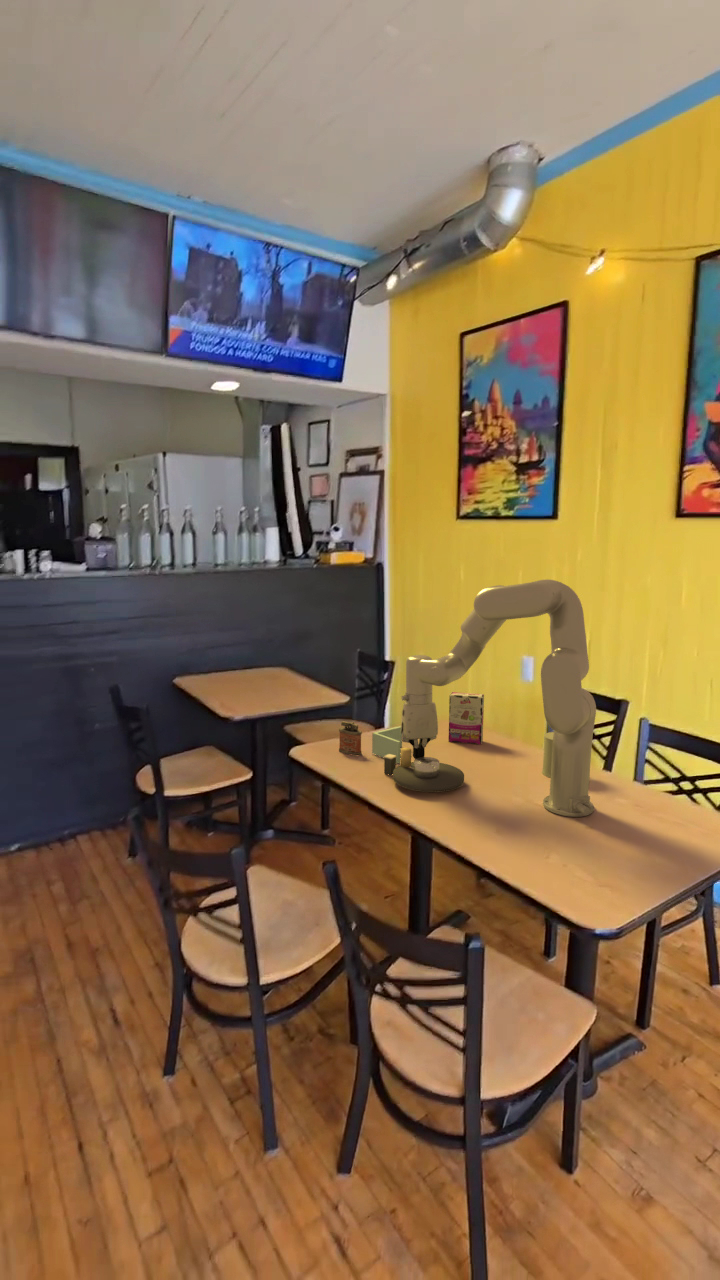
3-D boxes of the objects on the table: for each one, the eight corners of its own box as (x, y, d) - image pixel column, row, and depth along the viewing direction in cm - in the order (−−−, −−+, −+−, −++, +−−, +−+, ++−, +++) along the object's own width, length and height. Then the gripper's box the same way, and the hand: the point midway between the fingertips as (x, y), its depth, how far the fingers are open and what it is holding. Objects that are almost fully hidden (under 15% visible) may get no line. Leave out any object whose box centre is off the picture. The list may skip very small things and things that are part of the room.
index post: (396, 773, 201) (396, 755, 200) (391, 775, 199) (391, 758, 198) (388, 771, 202) (389, 753, 201) (383, 773, 200) (384, 756, 199)
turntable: (478, 779, 192) (479, 757, 191) (433, 798, 179) (433, 774, 178) (423, 761, 206) (424, 740, 205) (378, 777, 193) (378, 755, 192)
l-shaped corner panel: (397, 765, 209) (398, 742, 208) (372, 755, 218) (372, 732, 217) (425, 757, 216) (426, 734, 215) (399, 748, 226) (400, 726, 224)
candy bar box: (482, 740, 232) (484, 693, 230) (481, 745, 228) (483, 697, 225) (450, 737, 235) (451, 691, 233) (447, 741, 231) (449, 694, 228)
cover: (443, 774, 191) (444, 760, 191) (428, 781, 186) (429, 766, 186) (424, 768, 196) (424, 754, 195) (408, 774, 191) (409, 760, 190)
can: (578, 779, 197) (580, 739, 195) (546, 779, 197) (548, 739, 195) (569, 768, 206) (571, 730, 204) (538, 768, 206) (540, 729, 204)
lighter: (363, 753, 218) (363, 723, 216) (357, 756, 215) (358, 725, 214) (342, 749, 222) (342, 719, 221) (336, 751, 219) (336, 721, 218)
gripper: (399, 703, 190) (399, 766, 193) (448, 699, 195) (447, 761, 198) (390, 697, 197) (390, 758, 200) (437, 693, 202) (437, 753, 205)
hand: (418, 759), depth 199 cm, fingers closed
